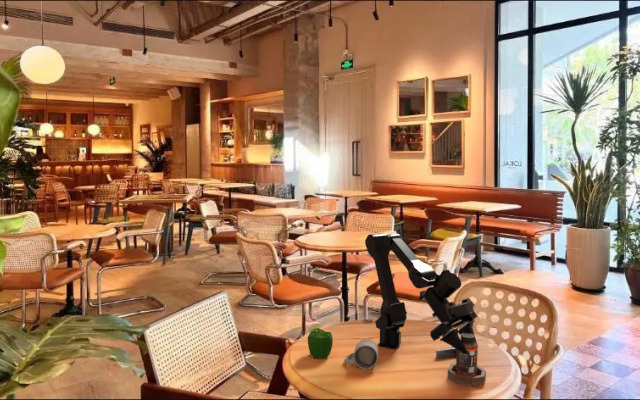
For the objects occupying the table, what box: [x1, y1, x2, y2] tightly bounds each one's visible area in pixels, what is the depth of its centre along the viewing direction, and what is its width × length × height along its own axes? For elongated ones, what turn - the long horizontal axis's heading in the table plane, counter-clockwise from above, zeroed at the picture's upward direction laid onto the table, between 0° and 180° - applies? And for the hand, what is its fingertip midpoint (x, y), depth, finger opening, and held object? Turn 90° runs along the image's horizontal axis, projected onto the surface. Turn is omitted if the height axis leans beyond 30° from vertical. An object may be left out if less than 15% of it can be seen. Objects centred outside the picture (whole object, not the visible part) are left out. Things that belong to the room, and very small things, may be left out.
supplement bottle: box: [455, 333, 479, 376], centre depth 152 cm, size 6×6×11 cm
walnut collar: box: [446, 363, 487, 388], centre depth 153 cm, size 10×10×2 cm
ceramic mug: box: [343, 338, 379, 370], centre depth 162 cm, size 11×8×8 cm
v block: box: [435, 346, 457, 359], centre depth 168 cm, size 8×12×2 cm, turn 65°
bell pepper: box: [307, 326, 334, 359], centre depth 169 cm, size 8×8×10 cm
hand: (471, 350), depth 151 cm, fingers closed on supplement bottle, 6 cm apart
